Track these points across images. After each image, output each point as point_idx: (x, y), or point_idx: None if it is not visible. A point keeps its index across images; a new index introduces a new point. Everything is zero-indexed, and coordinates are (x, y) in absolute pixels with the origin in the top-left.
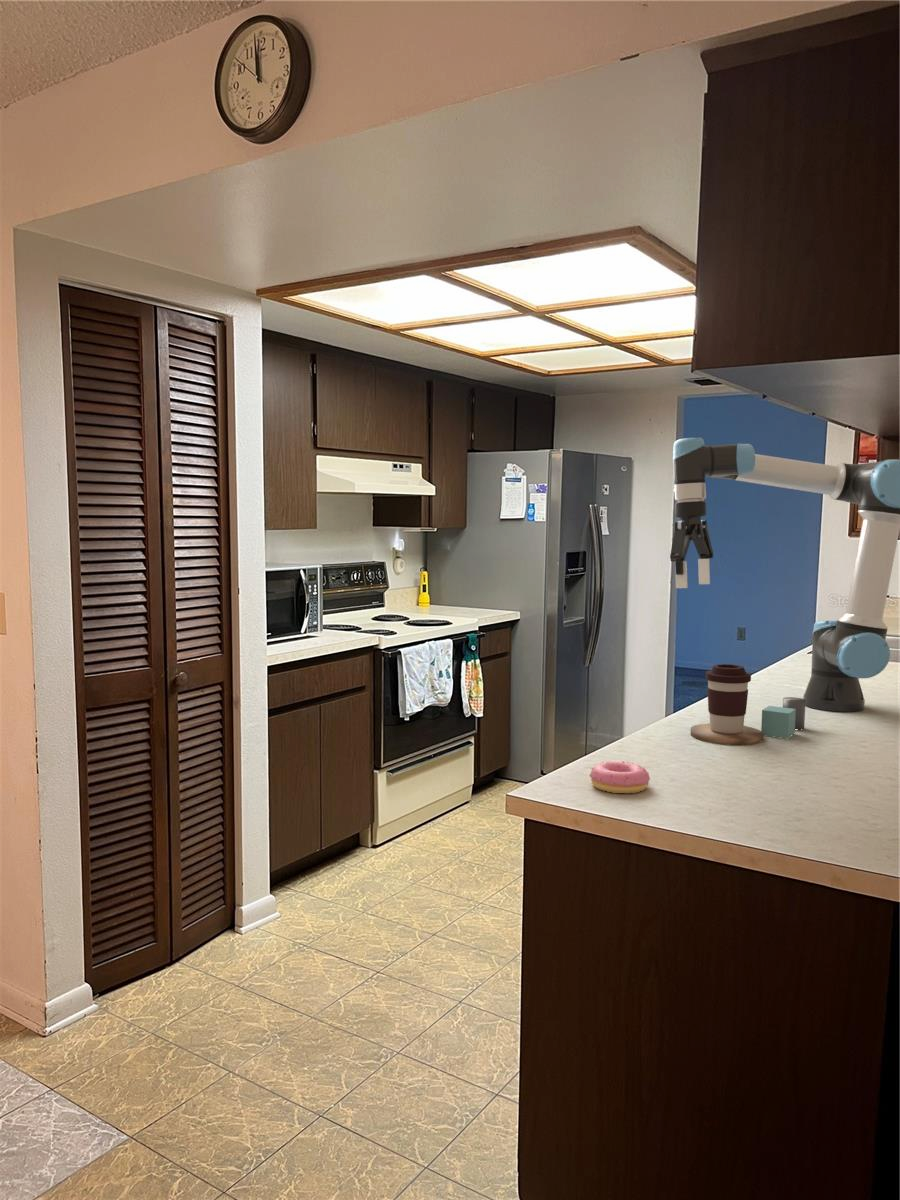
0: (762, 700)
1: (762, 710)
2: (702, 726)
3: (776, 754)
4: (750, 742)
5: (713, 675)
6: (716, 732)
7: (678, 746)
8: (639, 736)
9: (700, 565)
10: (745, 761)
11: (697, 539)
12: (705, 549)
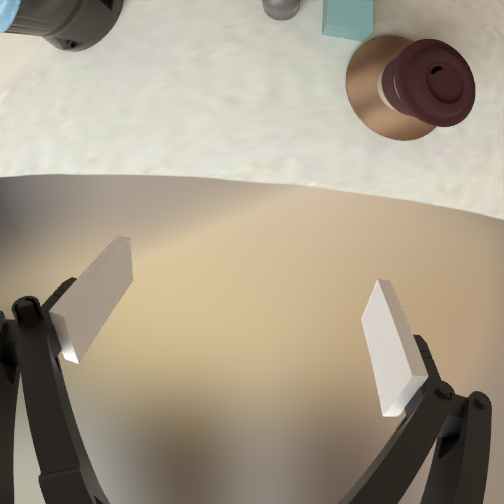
0: (93, 104)
1: (372, 32)
2: (388, 125)
3: (454, 26)
4: None
5: (471, 109)
6: None
7: (476, 145)
8: (447, 202)
9: (92, 328)
10: (499, 64)
11: (92, 481)
12: (54, 373)
